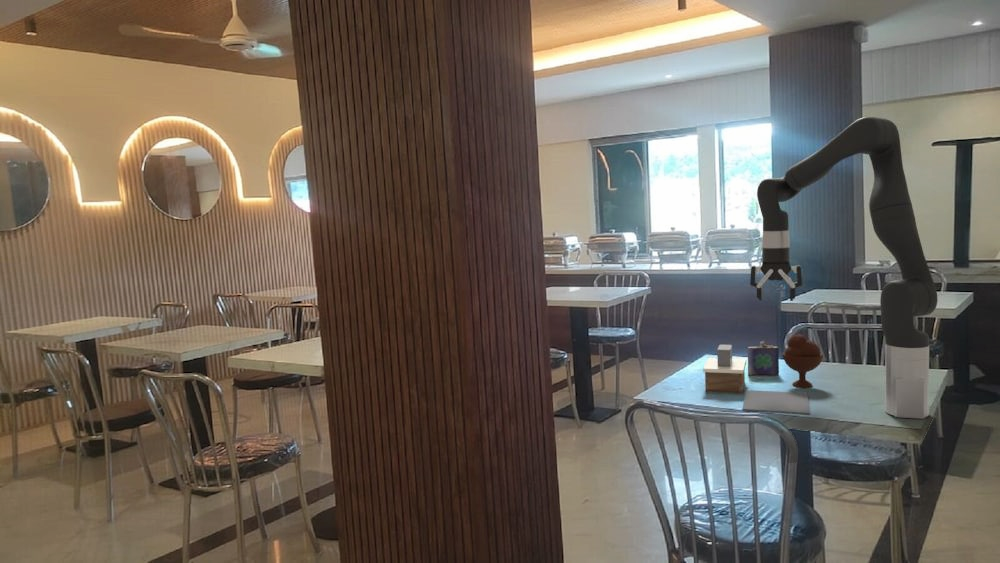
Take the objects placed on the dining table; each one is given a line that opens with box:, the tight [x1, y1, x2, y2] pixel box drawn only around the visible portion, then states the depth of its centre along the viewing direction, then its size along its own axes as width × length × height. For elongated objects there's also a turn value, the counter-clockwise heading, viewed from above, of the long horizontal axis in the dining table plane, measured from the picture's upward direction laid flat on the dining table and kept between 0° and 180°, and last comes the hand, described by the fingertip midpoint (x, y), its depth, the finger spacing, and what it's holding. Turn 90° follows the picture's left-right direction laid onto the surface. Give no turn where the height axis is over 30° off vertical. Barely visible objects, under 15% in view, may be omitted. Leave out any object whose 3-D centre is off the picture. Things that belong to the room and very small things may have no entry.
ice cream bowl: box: [781, 333, 824, 389], centre depth 197 cm, size 11×11×15 cm
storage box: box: [704, 372, 746, 395], centre depth 200 cm, size 14×10×6 cm
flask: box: [747, 340, 780, 377], centre depth 213 cm, size 9×3×11 cm, turn 76°
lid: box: [702, 344, 747, 374], centre depth 200 cm, size 15×11×7 cm
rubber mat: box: [741, 389, 811, 415], centre depth 182 cm, size 20×16×1 cm
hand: (776, 300), depth 201 cm, fingers open, 8 cm apart
